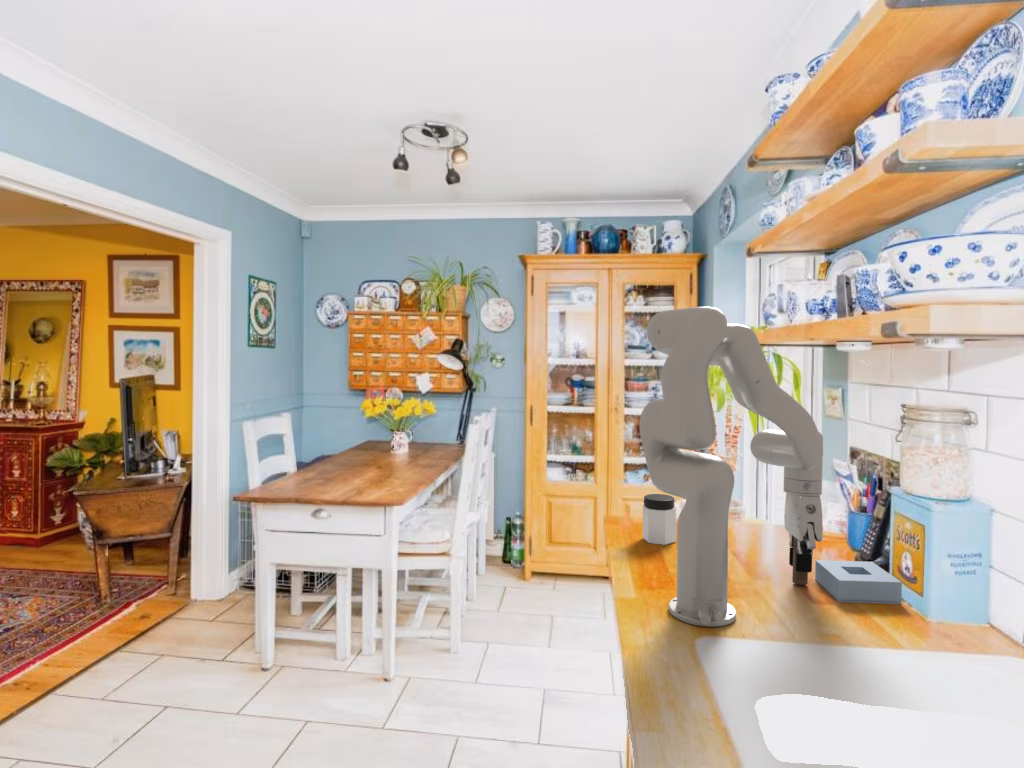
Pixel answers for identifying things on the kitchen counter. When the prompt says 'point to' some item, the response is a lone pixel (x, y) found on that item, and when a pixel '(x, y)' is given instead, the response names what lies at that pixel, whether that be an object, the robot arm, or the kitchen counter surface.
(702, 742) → the kitchen counter surface
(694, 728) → the kitchen counter surface
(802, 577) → the peg
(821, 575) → the hole block
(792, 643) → the kitchen counter surface
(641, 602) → the kitchen counter surface
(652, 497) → the jar
